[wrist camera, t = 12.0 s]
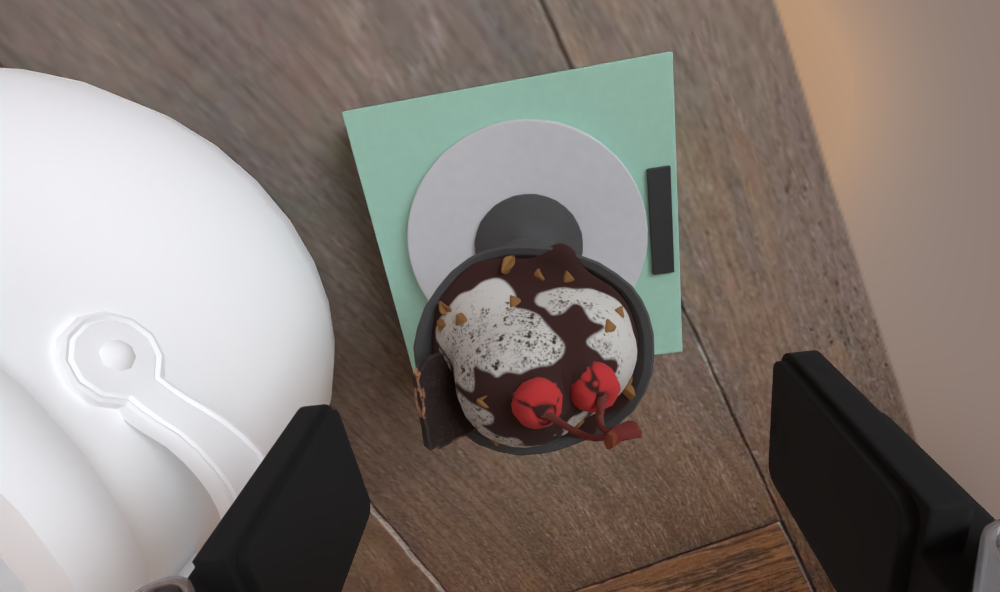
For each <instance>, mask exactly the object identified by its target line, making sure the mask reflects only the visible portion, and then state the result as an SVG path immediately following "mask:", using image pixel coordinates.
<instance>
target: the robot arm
mask: <svg viewBox="0 0 1000 592" xmlns="http://www.w3.org/2000/svg"><path fill="white" fill-rule="evenodd" d="M769 472H770V476H771V479H772V481H773V483H774V485H775V487H776V489H777V490H778V492H779V494H780V495H781V497H782V499H783V501H784V502H785V504H786V506H787V507H788V509H789V511H790V513H791V514H792V516H793V518H794V519H795V521H796V523H797V525H798V526H799V528H800V530H801V531H802V533H803V535H804V537H805V538H806V540H807V542H808V543H809V545H810V547H811V549H812V550H813V552H814V554H815V555H816V557H817V559H818V560H819V562H820V564H821V566H822V567H823V569H824V571H825V572H826V574H827V576H828V578H829V579H830V581H831V583H832V584H833V586H834V588H835V590H836V591H837V592H1000V520H995V519H994V518H993V517H992V516H991V515H990V514H989V513H988V512H987V511H986V510H985V509H984V508H983V507H981V505H979V504H978V503H977V502H976V501H975V500H974V499H973V498H972V497H971V496H970V495H969V494H968V493H967V492H966V491H965V490H964V489H963V488H962V487H961V486H960V485H959V484H958V483H957V482H956V481H955V480H954V479H953V478H952V477H951V476H950V475H949V474H948V473H946V472H945V471H944V470H943V469H942V468H941V467H940V466H939V465H938V464H937V463H936V462H935V461H934V460H933V459H932V458H931V457H930V456H929V455H928V454H927V453H926V452H925V451H924V450H923V449H922V448H921V447H920V446H919V445H918V444H917V443H915V442H914V441H913V440H912V439H911V438H910V437H909V436H908V435H907V434H906V433H905V432H904V431H903V430H902V429H901V428H900V427H899V426H898V425H897V424H896V423H895V422H894V421H893V420H892V419H891V418H889V417H888V416H887V415H885V414H884V413H881V412H880V411H879V410H878V409H877V408H876V407H875V406H874V405H873V404H872V403H871V402H870V401H869V400H868V399H867V398H866V397H865V396H864V395H863V394H862V393H861V392H860V391H859V390H858V389H857V388H856V387H855V386H854V385H853V384H852V383H850V382H849V381H848V380H847V379H846V378H845V377H844V376H843V375H842V374H841V373H840V372H839V371H838V370H837V369H836V368H835V367H834V366H833V365H832V364H831V363H830V362H829V361H828V360H827V359H826V358H825V357H824V356H823V355H822V354H821V353H820V352H818V351H815V350H813V351H804V352H795V353H786V354H784V355H783V358H782V361H778V362H775V364H774V367H773V385H772V405H771V426H770V447H769ZM369 514H370V499H369V496H368V493H367V490H366V488H365V485H364V482H363V479H362V476H361V473H360V471H359V468H358V465H357V462H356V459H355V457H354V454H353V451H352V448H351V445H350V442H349V440H348V437H347V434H346V431H345V428H344V425H343V423H342V420H341V417H340V414H339V412H338V411H337V410H332V409H331V407H330V406H329V405H327V404H322V405H312V406H303V407H300V408H299V409H298V411H297V412H296V413H295V415H294V416H293V418H292V419H291V421H290V422H289V423H288V425H287V426H286V428H285V429H284V431H283V432H282V433H281V435H280V436H279V438H278V439H277V441H276V442H275V444H274V445H273V446H272V448H271V449H270V451H269V452H268V454H267V455H266V456H265V458H264V459H263V461H262V462H261V464H260V465H259V466H258V468H257V469H256V471H255V472H254V474H253V475H252V476H251V478H250V479H249V481H248V482H247V484H246V485H245V486H244V488H243V489H242V491H241V492H240V494H239V495H238V497H237V498H236V499H235V501H234V502H233V504H232V505H231V507H230V508H229V509H228V511H227V512H226V514H225V515H224V517H223V518H222V519H221V521H220V522H219V524H218V525H217V527H216V528H215V529H214V531H213V532H212V534H211V535H210V537H209V538H208V540H207V541H206V542H205V544H204V545H203V547H202V548H201V550H200V551H199V552H198V554H197V555H196V557H195V558H194V560H193V561H192V563H193V564H194V566H195V568H194V569H193V571H192V572H191V574H190V575H189V577H188V578H185V577H183V576H169V577H165V578H161V579H158V580H155V581H153V582H151V583H149V584H147V585H145V586H143V587H141V588H140V589H138V590H137V591H135V592H341V591H342V588H343V585H344V583H345V580H346V577H347V574H348V572H349V569H350V566H351V564H352V561H353V558H354V556H355V553H356V550H357V547H358V545H359V542H360V539H361V537H362V534H363V531H364V529H365V526H366V523H367V520H368V518H369Z"/></svg>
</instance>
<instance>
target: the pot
mask: <svg viewBox="0 0 1000 592" xmlns="http://www.w3.org/2000/svg"><path fill="white" fill-rule="evenodd" d="M334 346H335V340H334V333H333V327H332V320H331V313H330V306H329V301H328V298H327V296H326V293H325V290H324V287H323V285H322V282H321V279H320V276H319V274H318V271H317V268H316V265H315V263H314V260H313V259H312V257H311V255H310V254H309V252H308V250H307V249H306V247H305V245H304V243H303V242H302V240H301V238H300V237H299V235H298V233H297V231H296V230H295V228H294V226H293V225H292V223H291V221H290V220H289V219H288V217H287V216H286V215H285V214H284V213H283V211H282V210H281V209H280V208H279V207H278V205H277V204H276V203H275V202H274V201H273V200H272V198H271V197H270V196H269V195H268V194H267V192H266V191H265V190H264V189H263V188H262V186H261V185H260V184H259V183H258V182H257V181H256V180H255V179H254V178H253V177H252V176H251V175H249V174H248V173H247V172H246V171H245V170H244V169H242V168H241V167H240V166H239V165H238V164H237V163H236V162H234V161H233V160H232V159H231V158H230V157H229V156H227V155H226V154H225V153H224V152H223V151H222V150H220V149H219V148H218V147H217V146H216V145H214V144H213V143H211V142H209V141H208V140H206V139H205V138H203V137H201V136H200V135H198V134H196V133H195V132H193V131H192V130H190V129H188V128H187V127H185V126H183V125H182V124H180V123H179V122H177V121H175V120H174V119H172V118H170V117H169V116H167V115H164V114H162V113H159V112H157V111H154V110H152V109H149V108H147V107H144V106H142V105H139V104H137V103H135V102H132V101H130V100H127V99H125V98H122V97H120V96H117V95H115V94H112V93H110V92H107V91H105V90H102V89H100V88H97V87H95V86H92V85H90V84H87V83H85V82H82V81H77V80H72V79H68V78H63V77H58V76H53V75H48V74H44V73H39V72H34V71H29V70H24V69H11V68H0V592H135V591H137V590H138V589H140V588H141V587H143V586H145V585H147V584H149V583H151V582H153V581H155V580H158V579H161V578H165V577H169V576H183V577H185V578H188V577H189V575H190V574H191V572H192V571H193V569H194V568H195V566H194V564H193V563H192V561H193V560H194V558H195V557H196V555H197V554H198V552H199V551H200V550H201V548H202V547H203V545H204V544H205V542H206V541H207V540H208V538H209V537H210V535H211V534H212V532H213V531H214V529H215V528H216V527H217V525H218V524H219V522H220V521H221V519H222V518H223V517H224V515H225V514H226V512H227V511H228V509H229V508H230V507H231V505H232V504H233V502H234V501H235V499H236V498H237V497H238V495H239V494H240V492H241V491H242V489H243V488H244V486H245V485H246V484H247V482H248V481H249V479H250V478H251V476H252V475H253V474H254V472H255V471H256V469H257V468H258V466H259V465H260V464H261V462H262V461H263V459H264V458H265V456H266V455H267V454H268V452H269V451H270V449H271V448H272V446H273V445H274V444H275V442H276V441H277V439H278V438H279V436H280V435H281V433H282V432H283V431H284V429H285V428H286V426H287V425H288V423H289V422H290V421H291V419H292V418H293V416H294V415H295V413H296V412H297V411H298V409H299V408H300V407H303V406H312V405H322V404H327V405H329V404H330V401H331V395H332V381H333V368H334Z"/></svg>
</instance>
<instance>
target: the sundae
mask: <svg viewBox="0 0 1000 592" xmlns="http://www.w3.org/2000/svg"><path fill="white" fill-rule="evenodd" d="M582 254H583V239H582V232H581V230H580V227H579V225H578V223H577V221H576V219H575V217H574V215H573V214H572V213H571V212H570V211H569V210H568V209H567V208H566V207H565V206H563V205H562V204H561V203H559V202H558V201H556V200H554V199H551V198H549V197H546V196H542V195H538V194H522V195H515V196H512V197H510V198H507V199H505V200H503V201H501V202H500V203H498V204H496V205H495V206H494V207H493V208H492V209H491V210H490V211H489V212H488V213H487V214H486V215H485V217H484V218H483V219H482V221H481V222H480V225H479V228H478V230H477V234H476V238H475V255H473V256H471V257H469V258H468V259H466V260H465V261H464V262H463V263H461V264H460V265H459V266H457V267H456V268H455V269H454V270H452V271H451V272H450V273H449V274H448V276H447V277H446V278H445V279H444V280H443V282H442V283H441V284H440V285H439V286H438V288H437V289H436V291H435V292H434V294H433V295H432V297H431V298H430V300H429V301H428V303H427V304H426V306H425V307H424V310H423V313H422V315H421V318H420V321H419V324H418V327H417V331H416V336H415V341H414V346H413V349H414V358H415V366H416V367H415V368H414V370H413V383H414V394H415V401H416V407H417V411H418V416H419V419H420V422H421V426H422V435H423V441H424V446H425V447H426V448H428V449H429V450H430V451H432V452H433V451H435V450H437V449H440V448H442V447H444V446H446V445H448V444H450V443H452V442H454V441H456V440H458V439H460V438H462V437H464V436H467V437H468V438H469V439H471V440H472V441H474V442H475V443H477V444H479V445H481V446H484V447H487V448H489V449H492V450H495V451H498V452H503V453H508V454H514V455H531V454H542V453H547V452H552V451H557V450H560V449H563V448H566V447H569V446H571V445H574V444H577V443H580V442H582V441H585V440H592V441H604V444H605V446H606V448H607V449H611V448H613V447H614V446H615V445H617V444H618V443H619V442H621V441H624V440H629V439H634V438H641V437H642V431H641V429H640V428H639V426H638V425H637V423H636V422H634V421H627V422H624V423H621V424H619V423H620V422H621V421H622V420H624V419H625V418H626V417H627V416H628V415H629V414H631V413H632V412H633V411H634V410H635V408H636V406H637V405H638V403H639V402H640V400H641V399H642V397H643V395H644V394H645V391H646V389H647V386H648V384H649V381H650V379H651V376H652V372H653V362H654V332H653V328H652V325H651V321H650V317H649V314H648V311H647V309H646V307H645V305H644V303H643V300H642V299H641V297H640V296H639V295H638V293H637V292H636V290H635V289H634V288H633V286H632V285H631V284H629V283H628V282H627V281H626V280H625V279H623V278H622V277H621V276H620V275H618V274H617V273H615V272H614V271H612V270H611V269H609V268H608V267H606V266H604V265H603V264H601V263H600V262H598V261H595V260H592V259H589V258H587V257H584V256H582ZM617 424H619V425H617ZM602 433H603V434H602Z"/></svg>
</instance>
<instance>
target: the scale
mask: <svg viewBox="0 0 1000 592" xmlns="http://www.w3.org/2000/svg"><path fill="white" fill-rule="evenodd" d="M342 115H343V119H344V122H345V126H346V130H347V133H348V137H349V140H350V144H351V148H352V151H353V155H354V159H355V162H356V166H357V170H358V173H359V177H360V180H361V184H362V188H363V191H364V195H365V199H366V202H367V206H368V210H369V213H370V217H371V220H372V224H373V228H374V231H375V235H376V239H377V242H378V246H379V250H380V253H381V257H382V260H383V264H384V268H385V271H386V275H387V279H388V282H389V286H390V290H391V293H392V297H393V300H394V304H395V308H396V311H397V315H398V319H399V322H400V326H401V330H402V333H403V337H404V340H405V344H406V348H407V351H408V355H409V359H410V362H411V366H412V370H414V368H415V367H416V366H415V358H414V349H413V346H414V341H415V336H416V331H417V327H418V324H419V321H420V318H421V315H422V313H423V310H424V307H425V306H426V304H427V303H428V301H429V300H430V298H431V297H432V295H433V294H434V292H435V291H436V289H437V288H438V286H439V285H440V284H441V283H442V282H443V280H444V279H445V278H446V277H447V276H448V274H449V273H450V272H451V271H452V270H454V269H455V268H456V267H457V266H459V265H460V264H461V263H463V262H464V261H465V260H466V259H468V258H469V257H471V256H473V255H475V238H476V234H477V230H478V228H479V225H480V222H481V221H482V219H483V218H484V217H485V215H486V214H487V213H488V212H489V211H490V210H491V209H492V208H493V207H494V206H495V205H496V204H498V203H500V202H501V201H503V200H505V199H507V198H510V197H512V196H515V195H522V194H538V195H542V196H546V197H549V198H551V199H554V200H556V201H558V202H559V203H561V204H562V205H563V206H565V207H566V208H567V209H568V210H569V211H570V212H571V213H572V214H573V215H574V217H575V219H576V221H577V223H578V225H579V227H580V230H581V232H582V239H583V254H582V256H584V257H587V258H589V259H592V260H595V261H598V262H600V263H601V264H603V265H604V266H606V267H608V268H609V269H611V270H612V271H614V272H615V273H617V274H618V275H620V276H621V277H622V278H623V279H625V280H626V281H627V282H628V283H629V284H631V285H632V286H633V288H634V289H635V290H636V292H637V293H638V295H639V296H640V297H641V299H642V300H643V303H644V305H645V307H646V309H647V311H648V314H649V317H650V321H651V325H652V328H653V332H654V355H658V354H666V353H674V352H681V351H682V326H681V295H680V264H679V234H678V203H677V172H676V141H675V111H674V80H673V53H672V52H664V53H658V54H652V55H647V56H641V57H636V58H631V59H625V60H620V61H614V62H609V63H603V64H598V65H592V66H587V67H582V68H576V69H571V70H565V71H560V72H554V73H549V74H543V75H538V76H533V77H527V78H522V79H516V80H511V81H505V82H500V83H494V84H489V85H483V86H478V87H473V88H467V89H462V90H456V91H451V92H445V93H440V94H434V95H429V96H424V97H418V98H413V99H407V100H402V101H396V102H391V103H385V104H380V105H374V106H369V107H364V108H358V109H353V110H349V111H344V112H342Z"/></svg>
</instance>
